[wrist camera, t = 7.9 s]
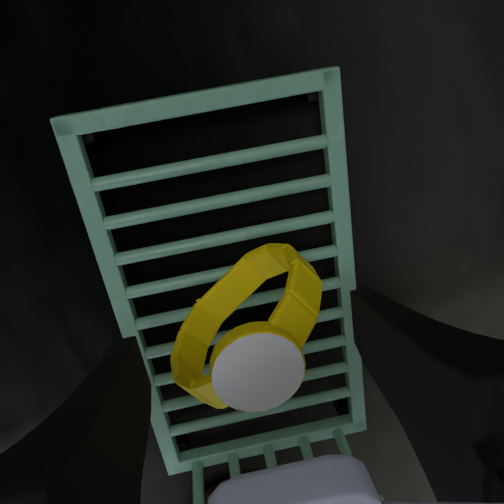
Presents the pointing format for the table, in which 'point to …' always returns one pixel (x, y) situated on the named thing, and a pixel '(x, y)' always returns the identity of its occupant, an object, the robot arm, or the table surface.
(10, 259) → the table surface
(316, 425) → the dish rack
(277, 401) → the watch
